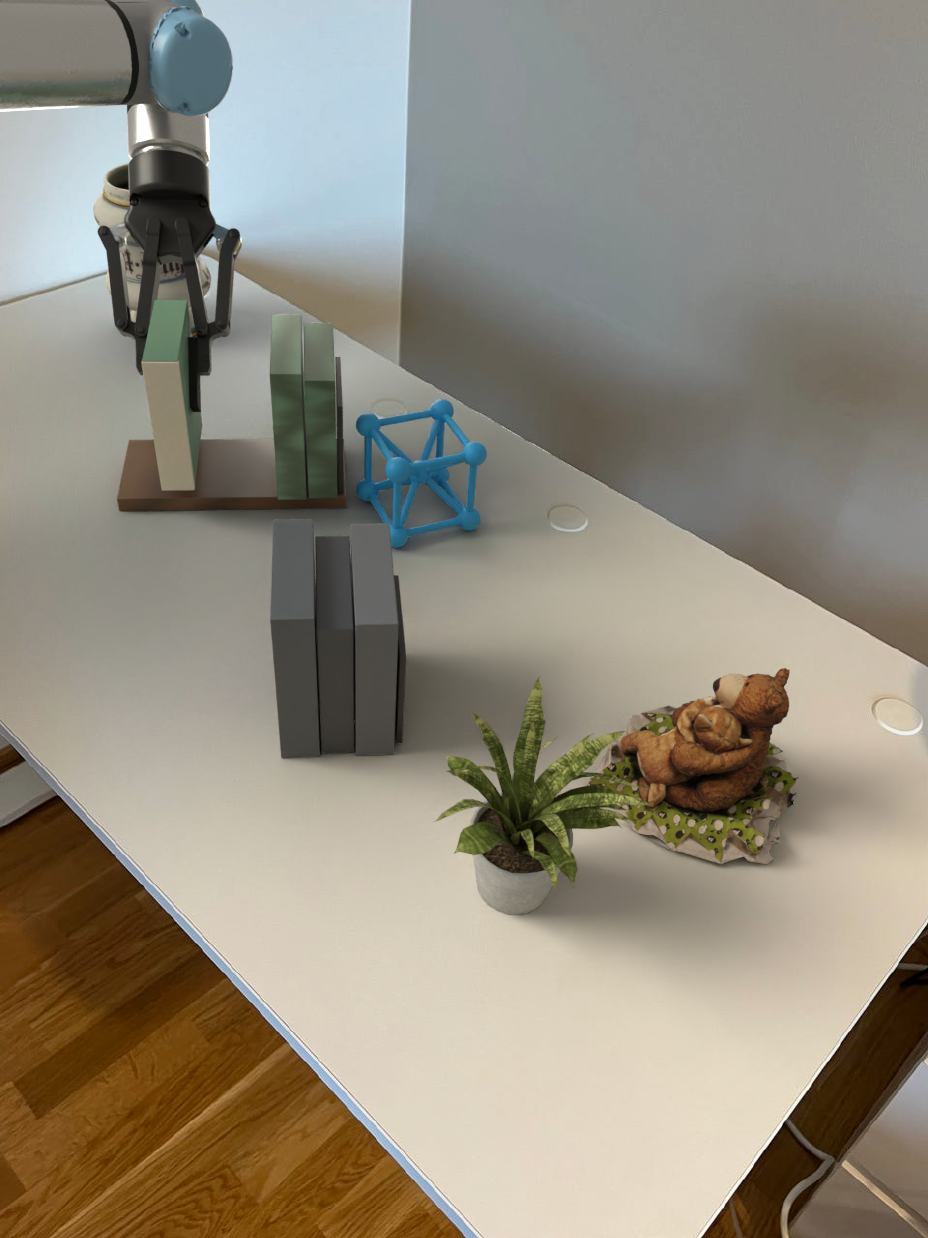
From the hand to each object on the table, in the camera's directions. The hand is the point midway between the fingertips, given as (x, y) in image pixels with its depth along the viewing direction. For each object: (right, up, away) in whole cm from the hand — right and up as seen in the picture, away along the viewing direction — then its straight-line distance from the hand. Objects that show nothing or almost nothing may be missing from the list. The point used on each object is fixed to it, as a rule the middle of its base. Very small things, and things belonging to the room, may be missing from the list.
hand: (175, 408), depth 101 cm
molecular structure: (+23, -10, +5) cm, 25 cm away
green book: (-1, -4, +5) cm, 6 cm away
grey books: (+18, -27, -14) cm, 35 cm away
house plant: (+30, -40, -26) cm, 56 cm away
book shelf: (+4, -6, +7) cm, 10 cm away
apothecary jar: (-9, +16, +29) cm, 34 cm away
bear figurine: (+45, -33, -17) cm, 59 cm away
